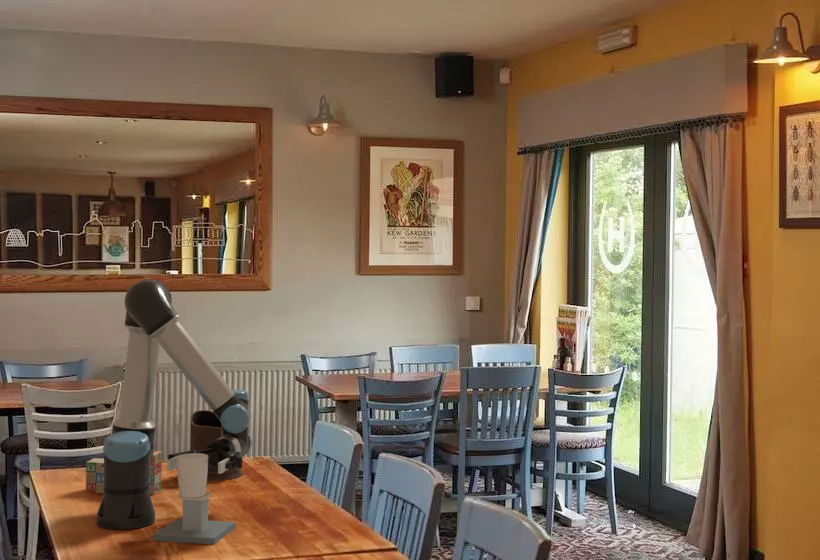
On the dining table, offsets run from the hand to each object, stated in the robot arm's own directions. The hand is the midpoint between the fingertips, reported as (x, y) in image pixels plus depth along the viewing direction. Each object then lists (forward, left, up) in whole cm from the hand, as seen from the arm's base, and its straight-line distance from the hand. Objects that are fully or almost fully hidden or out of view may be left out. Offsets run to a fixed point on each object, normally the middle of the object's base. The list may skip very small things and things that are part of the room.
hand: (193, 467), depth 262 cm
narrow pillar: (0, +2, -18) cm, 18 cm away
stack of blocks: (-38, +43, -18) cm, 60 cm away
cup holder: (-17, +69, -18) cm, 73 cm away
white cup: (-1, +2, -8) cm, 8 cm away
